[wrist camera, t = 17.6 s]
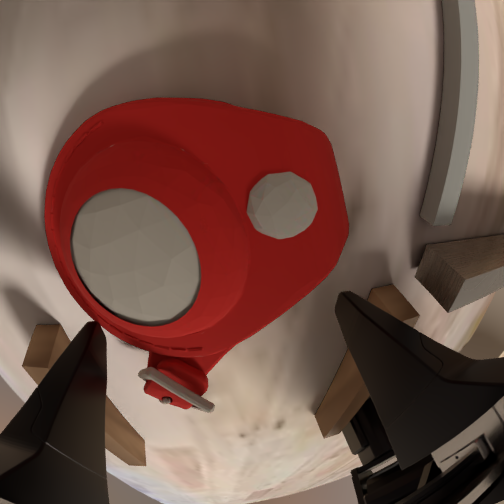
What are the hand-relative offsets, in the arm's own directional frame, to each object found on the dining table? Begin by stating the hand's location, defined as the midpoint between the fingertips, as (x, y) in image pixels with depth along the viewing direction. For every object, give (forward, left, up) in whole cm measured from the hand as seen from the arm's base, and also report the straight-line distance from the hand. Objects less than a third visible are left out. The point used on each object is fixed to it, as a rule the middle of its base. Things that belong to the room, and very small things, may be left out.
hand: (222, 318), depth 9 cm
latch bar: (-19, 0, -2) cm, 19 cm away
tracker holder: (+2, -1, -2) cm, 3 cm away
